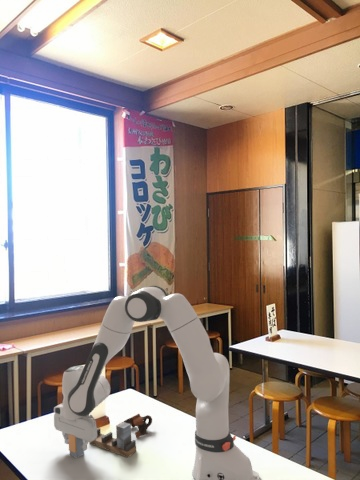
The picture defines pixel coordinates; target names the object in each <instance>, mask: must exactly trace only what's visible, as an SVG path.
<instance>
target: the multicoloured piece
mask: <svg viewBox="0 0 360 480" xmlns="http://www.w3.org/2000/svg"><path fill="white" fill-rule="evenodd" d="M83 443H84V442H83V440H82V439H80V438H77V437H75V436H73V435H70V434H69V444H68V451H69V456H71V457H72V456H73V457H75V458H79V457H81V456H82V455H84V454H85V451H83V450H81V445H83Z"/></svg>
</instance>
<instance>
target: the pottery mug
mask: <svg viewBox="0 0 360 480" xmlns="http://www.w3.org/2000/svg"><path fill="white" fill-rule="evenodd" d="M147 420H148V421H147ZM146 421H147V422H146ZM123 422H125V423H129V424H131V428H133V429H134V428H137V429H138V430H137V431H135V432H134V435H135V438H137V439H139V438H140V437H142V436H145V435H146V434H147V433H148V432H147V431H148V428H149V427H150V426H151V425H152V423H153V418H152V416H151V415H149V414H148V415H144V416H142V415H141V414H140V413H137V414H135V415H133V416H131V417H128V418H127V419H126V420H124V421H123Z"/></svg>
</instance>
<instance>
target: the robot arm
mask: <svg viewBox="0 0 360 480" xmlns="http://www.w3.org/2000/svg"><path fill="white" fill-rule="evenodd" d="M158 319H161V320H162V321H163V322H164V324H165V325H166V327H167V329H168V332H169V334H170V335H171V337H172V339H173V341H174V342H175V344H176V347H177V348H178V350H179V353H180V356H181V357H182V361H183V364H184V367H185V370H186V373H187V376H188V379H189V386H190V391H191V393H192V395H193V396H194V397H195V398H196V405H195V432H194V443H195V459H194V465H193V469H192V477H193V478H194V480H261V479H260V478H261V477H260V474H259V472H257V471H255V470H253V465H252V462H251V459H250V458H249V456H247V455H246V454H245V453H244V452H243V451H242V450H241V449H240V448H239V447H238V446H237V445H236V444H235V442H234V441H236V439H237V438H236V437H237V435H236V434H234V436H233V437H232V434H231V432H230V428H229V426H230V425H229V424H230V423H229V399H230V365H229V364H230V363H229V361H228V359H227V357H226V356H225V355H223V354H221V353H219V352H214V350H213V347H212V345H211V340H210V336H209V334H208V332H207V331H206V329H205V327H204V325H203V323H202V321H201V319H200V318H199V316H198V314H197V312H196V310H195V309H194V307H193V306H192V304H191V303H190V302H189V301H188V299H187V298H186V297H185V295H184V294H181V293H171V294H169V295H168V293H167V291H166V290H165V289H164V288H162V287H161V286H158V285H150V286H145V287H142V288H140V289H138V290H136V291H133V292H131V293H130V294H129V296H128V297H127V296H121V295H119V296H116V297H115V298H113V299H112V300H111V301H110V303H109V305H108V307H107V309H106V312H105V314H104V315H103V318H102V322H101V325H100V326H99V330H98V333H97V336H96V338H95V341H94V344H93V345H92V349H91V351H90V353H89V355H88V357H87V360H86V362H85V364H84V365H74V366H71V367H69V368H67V369H66V370H65V371H63V375H62V382H61V389H62V390H61V393H62V395H63V399H62V403H60V404H58V405H56V406H54V407H53V413H54V414H53V426H54V429H55V430H56V431H58V432H61V434H62V437H63V439H64V444H66V445H69V434H70V435H73V436H75V437H77V438H80V439H82V440H83V442H84V443H83V445H81V450H83V451H84V452H85V451H87V450H88V444H89V442H92V441H93V440H95V439H96V438H97V429H98V427H97V421H96V419H95V417H94V416H93V415H92V414H91V413H92V412H93V411H94V410H95V409H96V408H97V407H98V406H99V405H100V404H102V403H103V401H105V400H106V399H107V398H108V397H109V396H110V395H111V391H112V390H111V384H110V381H109V380H108V378H106V377H105V376H104V375H102V373H103V370H104V368H105V366H106V365H107V364H108V363H109V362H110V360H111V359H112V358H114V357H115V356H116V355H117V354H118V353H119V352H120V351H121V350H122V349H123V348H124V347H125V345H126V344H127V342H128V340H129V338H130V336H131V333H132V330H133V327H134V324H135V322H137V323H144V322H145V323H146V322H149V321H157V320H158Z"/></svg>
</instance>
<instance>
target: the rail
mask: <svg viewBox="0 0 360 480" xmlns="http://www.w3.org/2000/svg"><path fill="white" fill-rule="evenodd" d="M115 429H116V430H115V431H116V434H115V435H116V437H113V432H112V431H109V432H108V433H106V434H103V433H101V428H100V427H97V438H96V439H95V440H93V441H92V442H88V444H91V445H93V446H96V447H99V448H102V449H104V450H107V451H110V452H111V453H115V454H117V455H121V456H122V457H126V458H129V457H130V456H132V455H134V453H136V452H137V443H136V440H135V439H133V440H132V426H131V424H129V423H125V422H124V421H121V422H119V423H118V424H117V425H116V426H115Z"/></svg>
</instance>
